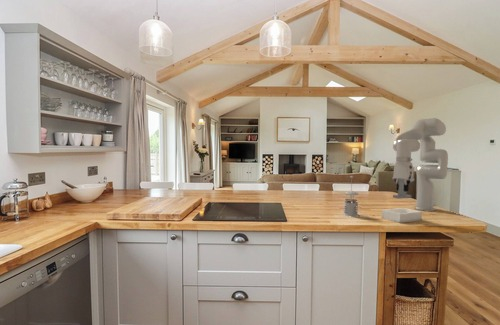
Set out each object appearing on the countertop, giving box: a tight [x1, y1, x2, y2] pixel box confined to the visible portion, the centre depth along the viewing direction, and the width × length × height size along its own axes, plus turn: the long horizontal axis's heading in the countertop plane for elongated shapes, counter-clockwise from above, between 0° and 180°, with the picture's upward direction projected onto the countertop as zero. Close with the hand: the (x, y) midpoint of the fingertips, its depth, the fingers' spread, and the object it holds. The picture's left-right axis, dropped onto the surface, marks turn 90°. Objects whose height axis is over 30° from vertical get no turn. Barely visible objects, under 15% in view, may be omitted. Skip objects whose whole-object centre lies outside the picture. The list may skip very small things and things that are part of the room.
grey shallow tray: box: [381, 207, 423, 224], centre depth 157 cm, size 18×12×5 cm, turn 111°
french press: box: [342, 175, 360, 218], centre depth 167 cm, size 10×12×25 cm
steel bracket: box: [392, 179, 412, 200], centre depth 156 cm, size 10×4×12 cm, turn 111°
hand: (402, 190), depth 156 cm, fingers closed on steel bracket, 4 cm apart
